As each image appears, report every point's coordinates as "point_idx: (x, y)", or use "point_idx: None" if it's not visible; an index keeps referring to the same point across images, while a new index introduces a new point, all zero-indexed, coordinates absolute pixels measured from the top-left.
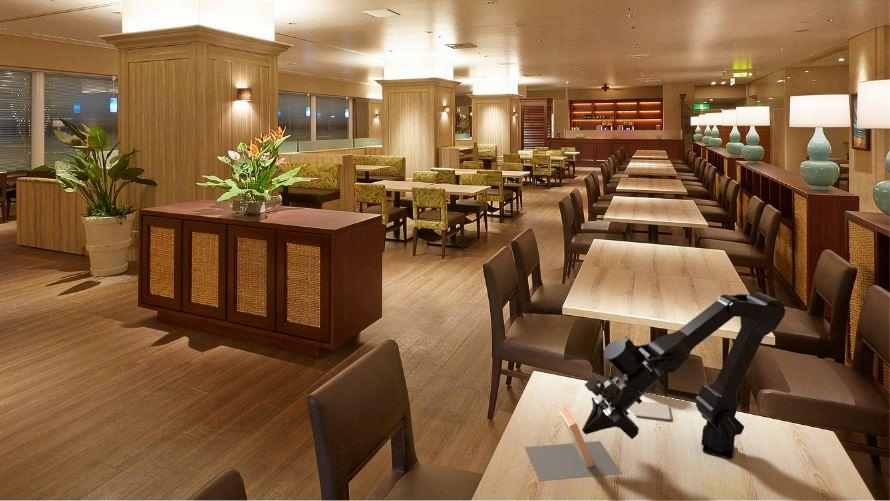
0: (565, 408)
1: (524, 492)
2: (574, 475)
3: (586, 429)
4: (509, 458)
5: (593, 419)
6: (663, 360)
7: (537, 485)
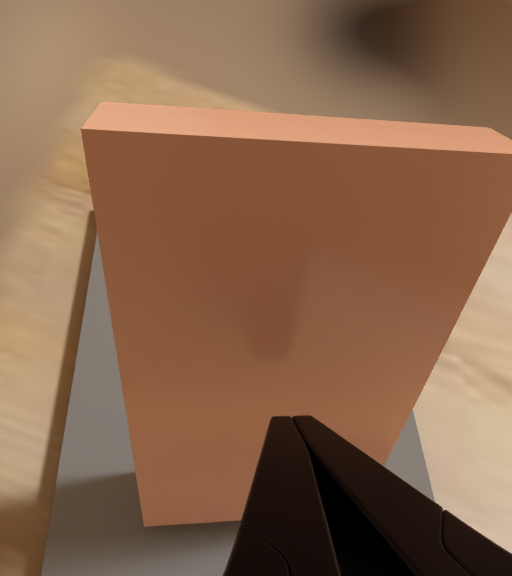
0: (507, 150)
1: (61, 145)
2: (97, 366)
3: (265, 442)
4: None
5: (304, 550)
6: None
7: (90, 196)
